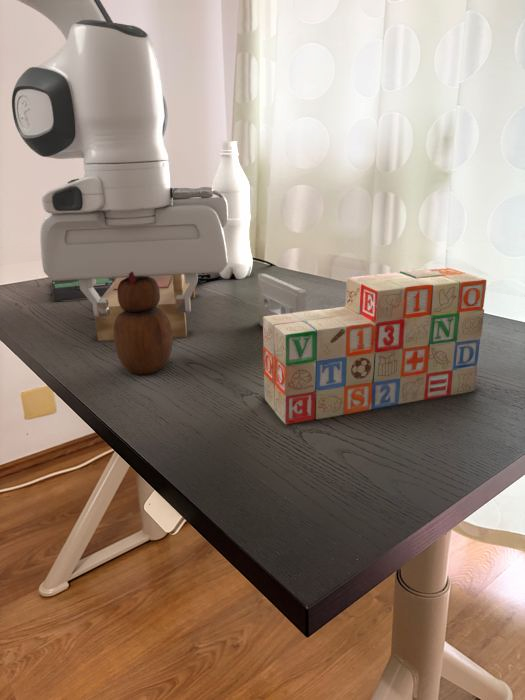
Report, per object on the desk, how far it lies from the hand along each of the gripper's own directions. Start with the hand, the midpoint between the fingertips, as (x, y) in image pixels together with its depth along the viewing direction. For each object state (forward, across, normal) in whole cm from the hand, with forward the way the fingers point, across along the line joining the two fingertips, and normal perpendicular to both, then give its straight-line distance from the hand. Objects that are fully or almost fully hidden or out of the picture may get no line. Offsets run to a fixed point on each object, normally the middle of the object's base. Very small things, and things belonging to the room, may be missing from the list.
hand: (143, 313), depth 68 cm
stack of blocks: (+7, -24, +11) cm, 28 cm away
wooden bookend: (+7, +2, -22) cm, 23 cm away
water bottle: (+7, -11, -47) cm, 49 cm away
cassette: (+7, -17, -10) cm, 21 cm away
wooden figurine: (+7, 0, 0) cm, 7 cm away
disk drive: (+7, +17, -41) cm, 45 cm away
